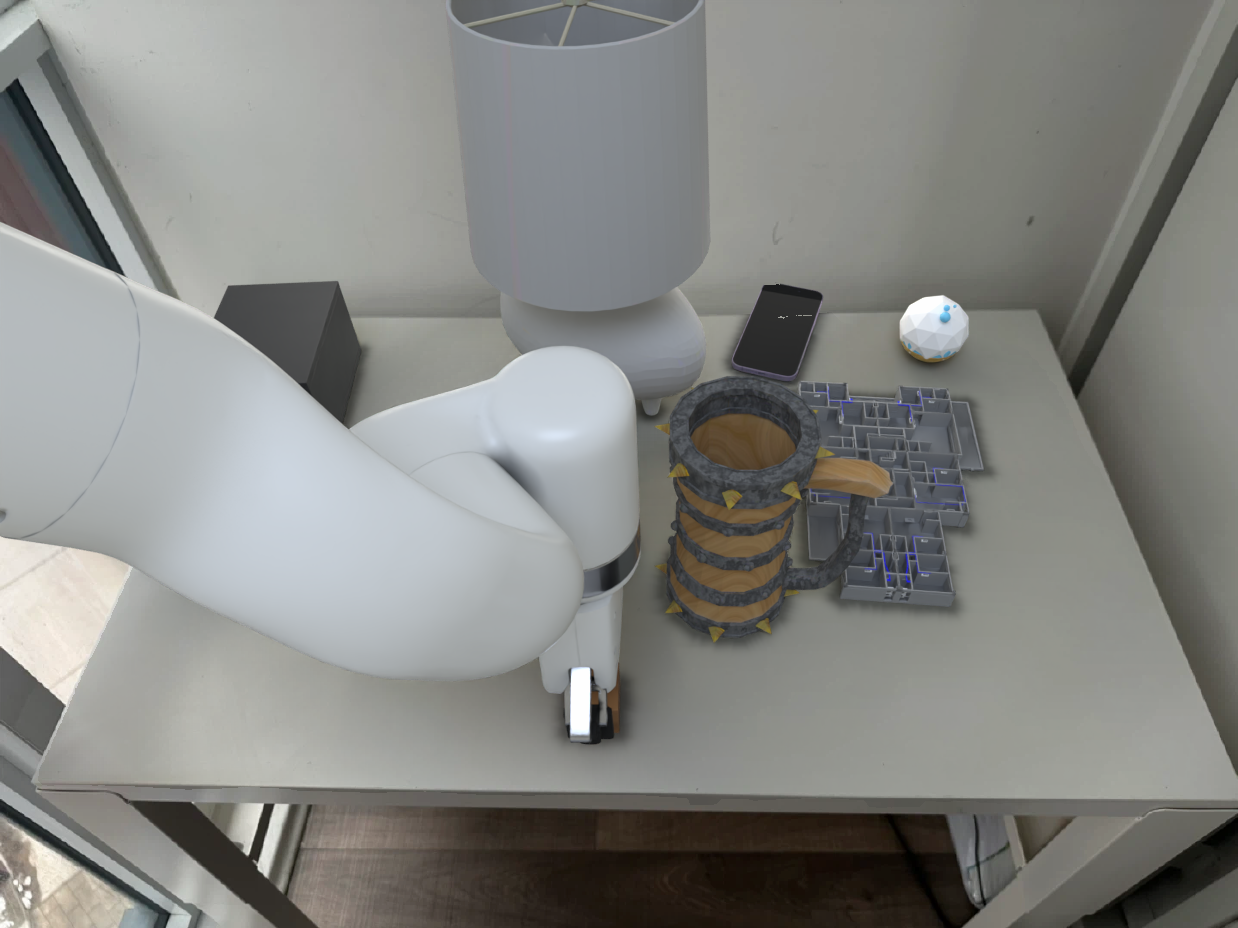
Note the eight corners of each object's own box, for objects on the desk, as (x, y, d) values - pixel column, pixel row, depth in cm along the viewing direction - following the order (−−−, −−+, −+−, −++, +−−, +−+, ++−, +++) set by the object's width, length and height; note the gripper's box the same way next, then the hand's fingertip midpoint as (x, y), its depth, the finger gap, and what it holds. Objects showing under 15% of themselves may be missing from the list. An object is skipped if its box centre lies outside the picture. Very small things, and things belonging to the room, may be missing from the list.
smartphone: (728, 363, 91) (764, 280, 100) (728, 371, 92) (763, 287, 101) (795, 378, 90) (825, 292, 98) (794, 386, 90) (824, 299, 99)
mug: (667, 515, 79) (671, 353, 64) (855, 548, 76) (906, 386, 61) (636, 634, 71) (633, 481, 56) (845, 676, 68) (901, 526, 53)
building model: (796, 394, 89) (798, 380, 88) (967, 403, 87) (972, 389, 86) (805, 596, 73) (808, 583, 71) (1015, 611, 71) (1023, 599, 70)
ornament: (881, 341, 94) (897, 282, 88) (939, 329, 95) (958, 270, 89) (910, 381, 90) (929, 322, 84) (971, 368, 91) (993, 308, 85)
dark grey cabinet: (335, 451, 86) (306, 382, 78) (221, 456, 86) (181, 388, 78) (361, 350, 96) (338, 280, 89) (259, 354, 96) (228, 285, 89)
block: (619, 733, 65) (618, 710, 62) (568, 733, 65) (563, 710, 62) (620, 685, 68) (619, 661, 65) (571, 685, 68) (567, 661, 65)
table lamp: (747, 371, 92) (794, -35, 62) (637, 502, 80) (629, 81, 50) (576, 301, 101) (545, -84, 70) (455, 409, 89) (356, 5, 59)
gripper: (526, 428, 55) (552, 573, 68) (495, 671, 44) (533, 789, 57) (641, 427, 55) (645, 573, 68) (639, 671, 44) (644, 790, 57)
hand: (594, 671), depth 62 cm, fingers open, 9 cm apart
